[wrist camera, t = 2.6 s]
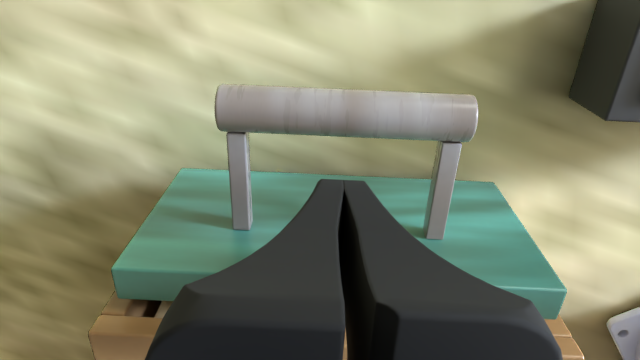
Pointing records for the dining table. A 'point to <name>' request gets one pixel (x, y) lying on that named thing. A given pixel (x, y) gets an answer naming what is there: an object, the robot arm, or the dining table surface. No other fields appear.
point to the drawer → (295, 188)
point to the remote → (611, 63)
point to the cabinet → (140, 325)
